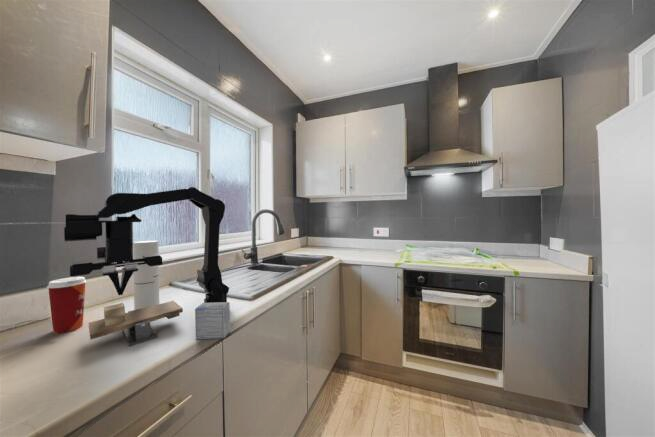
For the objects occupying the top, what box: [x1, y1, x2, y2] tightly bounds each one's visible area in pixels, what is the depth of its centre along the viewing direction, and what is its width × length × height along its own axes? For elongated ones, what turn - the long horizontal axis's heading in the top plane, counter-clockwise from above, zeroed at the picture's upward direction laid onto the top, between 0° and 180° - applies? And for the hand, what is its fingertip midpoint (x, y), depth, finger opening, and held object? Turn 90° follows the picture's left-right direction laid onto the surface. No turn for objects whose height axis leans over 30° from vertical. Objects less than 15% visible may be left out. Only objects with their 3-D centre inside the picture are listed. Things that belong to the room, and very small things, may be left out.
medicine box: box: [194, 301, 231, 340], centre depth 66 cm, size 8×4×9 cm, turn 92°
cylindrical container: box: [133, 240, 160, 310], centre depth 84 cm, size 7×7×25 cm
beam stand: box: [122, 309, 158, 347], centre depth 68 cm, size 6×15×5 cm, turn 47°
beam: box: [88, 300, 184, 341], centre depth 68 cm, size 20×10×3 cm, turn 137°
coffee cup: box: [46, 276, 87, 334], centre depth 71 cm, size 8×8×15 cm
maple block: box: [103, 302, 126, 326], centre depth 64 cm, size 4×4×4 cm
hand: (120, 294), depth 65 cm, fingers closed
